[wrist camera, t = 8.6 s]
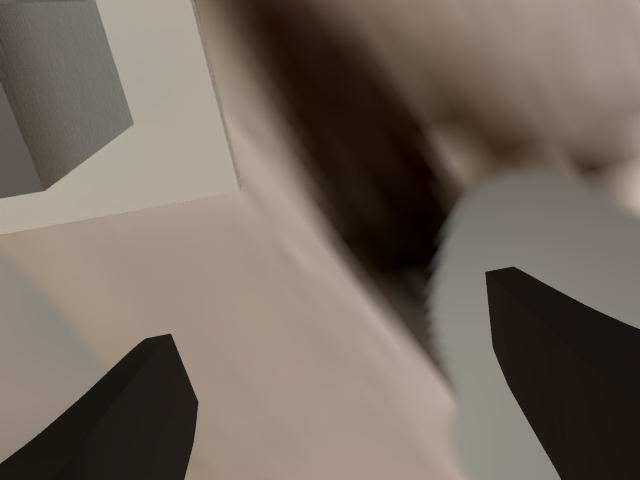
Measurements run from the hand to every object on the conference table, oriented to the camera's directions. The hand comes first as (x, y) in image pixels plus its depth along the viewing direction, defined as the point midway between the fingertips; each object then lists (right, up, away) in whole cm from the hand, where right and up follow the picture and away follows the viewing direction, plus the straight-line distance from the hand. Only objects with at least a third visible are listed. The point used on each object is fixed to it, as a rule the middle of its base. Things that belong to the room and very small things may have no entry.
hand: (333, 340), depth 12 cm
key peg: (-9, +8, +6) cm, 13 cm away
